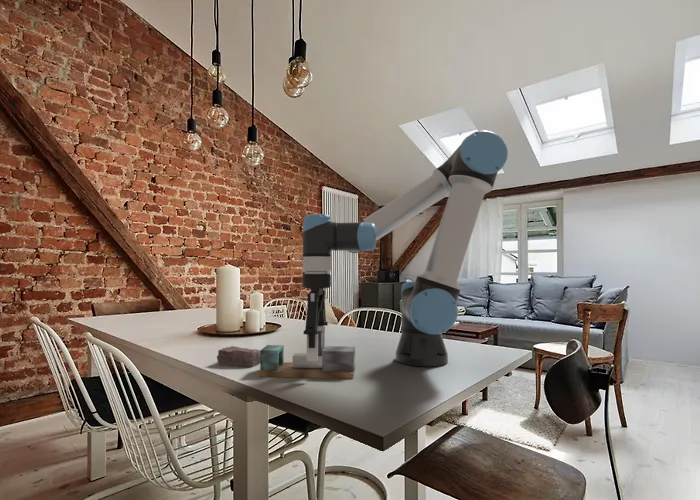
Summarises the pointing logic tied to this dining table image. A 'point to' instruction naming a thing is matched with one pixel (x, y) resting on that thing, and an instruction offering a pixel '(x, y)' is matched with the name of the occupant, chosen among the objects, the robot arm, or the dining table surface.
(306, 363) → the grey bar with post
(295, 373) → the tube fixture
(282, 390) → the dining table surface
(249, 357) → the stone
